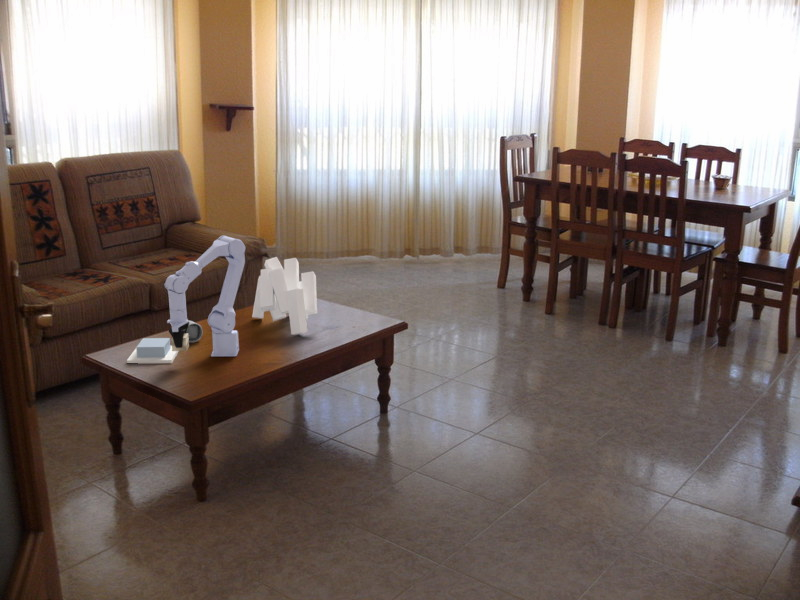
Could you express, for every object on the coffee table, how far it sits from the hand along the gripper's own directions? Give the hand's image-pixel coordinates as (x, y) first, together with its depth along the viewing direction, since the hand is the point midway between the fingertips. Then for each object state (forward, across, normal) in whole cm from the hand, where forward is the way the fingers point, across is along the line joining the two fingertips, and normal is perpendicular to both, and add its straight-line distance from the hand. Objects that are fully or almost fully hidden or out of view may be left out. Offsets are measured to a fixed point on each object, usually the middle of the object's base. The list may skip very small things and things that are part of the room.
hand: (180, 344), depth 298 cm
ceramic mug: (+8, -27, -3) cm, 29 cm away
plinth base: (+8, -10, -12) cm, 17 cm away
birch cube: (+2, 0, 0) cm, 2 cm away
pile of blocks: (+8, -47, +34) cm, 59 cm away
